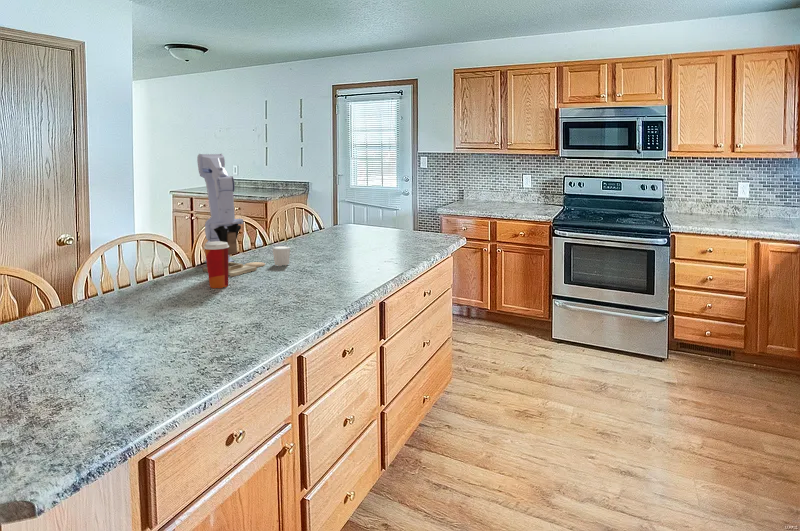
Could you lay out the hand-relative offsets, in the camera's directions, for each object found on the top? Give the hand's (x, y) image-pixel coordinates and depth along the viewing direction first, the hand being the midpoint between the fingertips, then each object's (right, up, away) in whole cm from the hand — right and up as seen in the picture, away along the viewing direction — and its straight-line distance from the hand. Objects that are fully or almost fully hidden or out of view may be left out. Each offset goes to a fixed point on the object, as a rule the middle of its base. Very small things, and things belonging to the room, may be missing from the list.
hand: (228, 245), depth 216 cm
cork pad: (+7, -8, +12) cm, 16 cm away
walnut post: (0, -3, +1) cm, 3 cm away
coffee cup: (+3, -15, -21) cm, 26 cm away
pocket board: (0, -10, +2) cm, 10 cm away
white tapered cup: (+17, -7, +14) cm, 23 cm away
